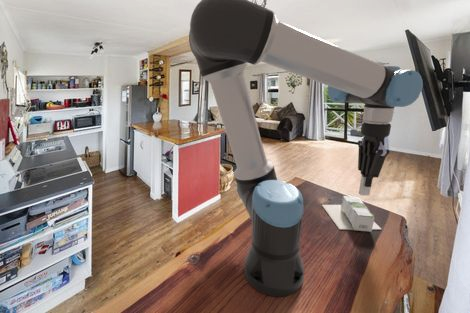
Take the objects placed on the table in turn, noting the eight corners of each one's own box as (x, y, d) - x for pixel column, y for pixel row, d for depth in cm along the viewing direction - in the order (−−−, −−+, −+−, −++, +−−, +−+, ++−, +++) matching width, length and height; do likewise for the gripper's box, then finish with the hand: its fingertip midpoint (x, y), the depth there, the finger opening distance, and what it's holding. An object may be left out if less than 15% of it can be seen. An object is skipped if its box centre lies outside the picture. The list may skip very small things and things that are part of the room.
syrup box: (371, 232, 76) (355, 210, 90) (375, 216, 74) (358, 196, 88) (353, 230, 77) (340, 208, 91) (356, 214, 75) (342, 195, 89)
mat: (339, 229, 78) (339, 228, 78) (322, 205, 94) (322, 204, 94) (381, 229, 78) (381, 228, 78) (356, 205, 94) (356, 204, 94)
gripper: (404, 125, 63) (387, 204, 70) (376, 119, 75) (364, 186, 82) (376, 125, 63) (362, 204, 70) (353, 119, 75) (343, 186, 82)
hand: (363, 194), depth 76 cm, fingers closed
